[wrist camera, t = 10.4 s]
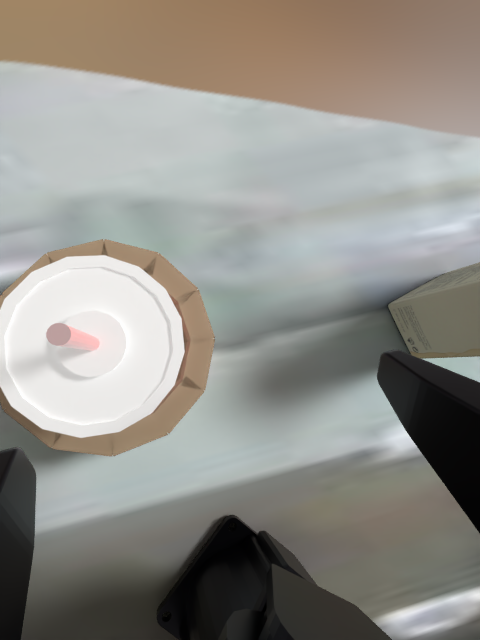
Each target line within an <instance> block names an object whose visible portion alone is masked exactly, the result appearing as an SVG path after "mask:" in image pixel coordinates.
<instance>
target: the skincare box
mask: <svg viewBox="0 0 480 640" xmlns="http://www.w3.org/2000/svg"><path fill="white" fill-rule="evenodd" d="M388 308H389V310H390V312H391V314H392V316H393V318H394V320H395V323H396V325H397V327H398V329H399V331H400V333H401V335H402V337H403V339H404V341H405V343H406V345H407V347H408V349H409V351H410V353H411V355H412V356H415V357H417V358H420V359H421V358H447V357H474V356H480V262H479V263H476V264H473V265H470V266H467V267H463V268H460V269H457V270H454V271H451V272H447V273H445V274H443V275H441V276H439V277H437V278H435V279H433V280H431V281H430V282H428V283H426V284H424V285H422V286H420V287H418V288H416V289H415V290H413V291H411V292H409V293H407V294H405V295H404V296H402V297H400V298H398V299H397V300H395V301H393V302H391V303H390V304H389V305H388Z"/></svg>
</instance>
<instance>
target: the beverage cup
mask: <svg viewBox="0 0 480 640" xmlns="http://www.w3.org/2000/svg"><path fill="white" fill-rule="evenodd" d="M184 353H185V350H184V340H183V329H182V319H181V317H180V315H179V313H178V311H177V309H176V307H175V306H174V304H173V302H172V300H171V298H170V296H169V294H168V292H167V291H166V289H165V288H164V287H163V286H162V285H160V284H159V283H158V282H157V281H156V280H154V279H153V278H152V277H151V276H150V275H148V274H147V273H146V272H145V271H144V270H142V269H141V268H140V267H138V266H135V265H132V264H129V263H126V262H123V261H120V260H117V259H114V258H111V257H108V256H105V255H98V256H73V257H65V258H63V259H61V260H58V261H56V262H54V263H51V264H49V265H47V266H44V267H42V268H40V269H37V270H35V271H33V272H31V273H30V274H29V275H28V276H27V277H26V278H25V279H24V280H23V281H22V282H21V283H20V284H19V285H18V286H17V287H16V288H15V289H14V290H13V291H12V292H11V293H10V294H9V295H8V296H7V297H6V298H5V299H4V301H3V304H2V306H1V309H0V387H1V389H2V391H3V393H4V394H5V396H6V398H7V400H8V402H9V403H10V405H11V407H13V408H14V409H16V410H17V411H18V412H20V413H21V414H22V415H24V416H25V417H27V418H28V419H29V420H31V421H32V422H33V423H35V424H36V425H37V426H39V427H40V428H42V429H44V430H48V431H53V432H57V433H61V434H66V435H70V436H74V437H79V438H84V437H90V436H97V435H103V434H110V433H116V432H120V431H122V430H124V429H125V428H127V427H129V426H131V425H132V424H134V423H136V422H137V421H139V420H141V419H143V418H144V417H146V416H148V415H150V414H151V413H153V411H154V410H155V409H156V408H157V406H158V405H159V404H160V403H161V401H162V400H163V399H164V398H165V396H166V395H167V394H168V393H169V391H170V390H171V389H172V388H173V386H174V385H175V382H176V379H177V376H178V372H179V369H180V366H181V362H182V359H183V356H184Z"/></svg>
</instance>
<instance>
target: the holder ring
mask: <svg viewBox="0 0 480 640" xmlns="http://www.w3.org/2000/svg"><path fill="white" fill-rule="evenodd" d="M47 255H48V256H47ZM47 255H46V254H44V255H43V256H42V257H41V258H40V259H39V260H38V261H37V262H36V263H35V264H33V265H32V266H31V267H30V268H29V269H28V270H27V271H26V272H25V273H24V274H23V275H21V276H20V277H19V278H18V279H17V280H16V281H15V282H14V283H13V284H12V285H10V286H9V287H8V288H7V289H6V290H5V291H4V292H3V293H2V294H3V295H4V296H3V295H1V296H0V309H1V306H2V304H3V301H4V299H5V298H6V297H7V296H8V295H9V294H10V293H11V292H12V291H13V290H14V289H15V288H16V287H17V286H18V285H19V284H20V283H21V282H22V281H23V280H24V279H25V278H26V277H27V276H28V275H29V274H30V273H31V272H33V271H35V270H37V269H40V268H42V267H44V266H47V265H49V264H51V263H54V262H56V261H58V260H61V259H63V258H65V257H73V256H98V255H105V256H108V257H111V258H114V259H117V260H120V261H123V262H126V263H129V264H132V265H135V266H138V267H140V268H141V269H142V270H144V271H145V272H146V273H147V274H148V275H150V276H151V277H152V278H153V279H154V280H156V281H157V282H158V283H159V284H160V285H162V286H163V287H164V288H165V289H166V291H167V292H168V294H169V296H170V298H171V300H172V302H173V304H174V306H175V307H176V309H177V311H178V313H179V315H180V317H181V319H182V329H183V340H184V350H185V353H184V356H183V359H182V362H181V366H180V369H179V372H178V376H177V379H176V382H175V385H174V386H173V388H172V389H171V390H170V391H169V393H168V394H167V395H166V396H165V398H164V399H163V400H162V401H161V403H160V404H159V405H158V406H157V408H156V409H155V410H154V411H153V413H151V414H150V415H148V416H146V417H144V418H143V419H141V420H139V421H137V422H136V423H134V424H132V425H131V426H129V427H127V428H125V429H124V430H122V431H120V432H116V433H110V434H103V435H97V436H90V437H84V438H79V437H74V436H70V435H66V434H61V433H57V432H53V431H48V430H44V429H42V428H40V427H39V426H37V425H36V424H35V423H33V422H32V421H31V420H29V419H28V418H27V417H25V416H24V415H22V414H21V413H20V412H18V411H17V410H16V409H14V408H13V407H11V405H10V403H9V402H8V400H7V398H6V396H5V394H4V393H3V391H2V389H1V387H0V403H1V406H2V409H5V410H4V412H5V413H7V414H8V415H9V416H11V417H12V418H13V419H14V420H16V421H17V422H18V423H19V424H21V425H22V426H23V427H24V428H26V429H27V430H28V431H29V432H31V433H32V434H33V435H35V436H36V437H37V438H38V439H40V440H41V441H42V442H43V443H45V444H46V445H47V446H48V447H50V448H51V447H52V446H53V448H52V449H57V450H65V451H73V452H81V453H88V454H96V455H104V456H112V455H113V456H115V455H118V454H120V453H123V452H125V451H128V450H130V449H133V448H136V447H138V446H141V445H143V444H146V443H148V442H151V441H153V440H156V439H158V438H161V437H163V436H166V435H168V434H167V432H168V433H170V432H171V431H172V430H173V428H174V427H175V426H176V425H177V424H178V422H179V421H180V420H181V419H182V418H183V416H184V415H185V414H186V413H187V412H188V411H189V409H190V408H191V407H192V406H193V405H194V403H195V402H196V401H197V400H198V399H199V397H200V396H201V395H202V394H203V393H204V391H203V390H205V388H206V383H207V378H208V373H209V367H210V362H211V357H212V352H213V347H214V342H215V339H213V338H215V337H214V334H213V331H212V328H211V325H210V322H209V319H208V316H207V313H206V310H205V307H204V304H203V301H202V298H201V295H200V292H199V290H197V289H198V288H197V287H196V286H195V285H194V284H193V283H191V282H190V281H189V280H188V279H187V278H186V277H185V276H184V275H183V274H182V273H180V272H179V271H178V270H177V269H176V268H175V267H174V266H173V265H172V264H171V263H169V262H168V261H167V260H166V259H165V258H164V257H163V256H162V255H161V254H160V253H159V254H158V252H154V251H150V250H146V249H142V248H138V247H134V246H130V245H126V244H122V243H118V242H114V241H110V240H106V239H105V240H104V241H103V239H102V240H98V241H93V242H89V243H85V244H81V245H77V246H73V247H69V248H65V249H60V250H56V251H52V252H48V253H47Z"/></svg>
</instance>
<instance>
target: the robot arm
mask: <svg viewBox="0 0 480 640" xmlns="http://www.w3.org/2000/svg"><path fill="white" fill-rule="evenodd" d="M377 379H378V383H379V385H380V387H381V388H382V390H383V392H384V394H385V395H386V397H387V399H388V401H389V402H390V404H391V406H392V408H393V409H394V411H395V413H396V414H397V416H398V418H399V420H400V421H401V423H402V425H403V426H404V428H405V430H406V431H407V433H408V434H409V436H410V437H411V439H412V440H413V441H414V443H415V444H416V446H417V447H418V448H419V450H420V451H421V453H422V454H423V455H424V457H425V458H426V459H427V461H428V462H429V464H430V465H431V466H432V468H433V469H434V471H435V472H436V473H437V475H438V476H439V477H440V479H441V480H442V482H443V483H444V484H445V486H446V487H447V489H448V490H449V491H450V493H451V494H452V495H453V497H454V498H455V500H456V501H457V502H458V504H459V505H460V507H461V508H462V509H463V511H464V512H465V513H466V515H467V516H468V518H469V519H470V520H471V522H472V523H473V525H474V526H475V527H476V529H477V530H478V531H479V533H480V382H477V381H475V380H472V379H470V378H467V377H465V376H462V375H460V374H457V373H455V372H452V371H450V370H447V369H445V368H442V367H440V366H437V365H435V364H432V363H430V362H427V361H425V360H422V359H420V358H417V357H415V356H412V355H410V354H407V353H405V352H402V351H400V350H391V351H387V352H384V353H382V355H381V357H380V362H379V368H378V373H377ZM35 504H36V473H35V470H34V468H33V466H32V464H31V463H30V461H29V459H28V458H27V456H26V455H25V453H24V451H23V450H22V449H21V448H19V447H15V448H11V449H7V450H3V451H0V640H21V633H22V627H23V620H24V613H25V606H26V599H27V593H28V586H29V579H30V572H31V565H32V558H33V550H34V536H35ZM231 522H234V523H235V526H234V527H233V528H231V529H230V528H228V526H229V524H230V523H231ZM167 611H168V612H170V615H169V616H167V617H164V616H163V613H165V612H167ZM157 621H158V623H159V625H160V626H162V627H163V628H164V629H166V630H167V631H168V632H170V633H171V634H172V635H174V636H175V637H176V638H178V639H179V640H392V639H391V638H390V637H389V636H388V635H387V634H386V633H384V632H383V631H382V630H381V629H380V628H379V627H378V626H377V625H376V624H375V623H374V622H373V621H372V620H371V619H370V618H369V617H368V616H366V615H365V614H364V613H363V612H362V611H361V610H360V609H359V608H358V607H357V606H355V605H354V604H352V603H350V602H348V601H346V600H344V599H342V598H340V597H338V596H336V595H334V594H332V593H330V592H328V591H326V590H324V589H322V588H321V587H319V586H317V584H316V583H315V582H314V580H313V579H312V578H311V576H310V575H309V574H308V573H307V571H306V570H305V569H304V567H303V566H302V565H301V563H300V562H299V561H298V559H297V558H296V557H295V555H294V554H292V553H291V552H290V551H289V550H288V549H286V548H285V547H284V546H283V545H282V544H280V543H279V542H278V541H277V540H276V539H274V538H273V537H272V536H271V535H270V534H268V533H267V532H266V531H259V533H258V534H257V533H256V532H255V531H254V530H252V529H251V528H250V527H249V526H248V525H246V524H245V523H244V522H243V521H241V520H240V519H239V518H238V517H237V516H235V515H229V516H227V517H226V518H225V519H224V520H223V522H222V523H221V524H220V526H219V527H218V528H217V530H216V531H215V532H214V534H213V535H212V536H211V538H210V539H209V540H208V542H207V543H206V544H205V546H204V547H203V548H202V550H201V551H200V552H199V554H198V555H197V556H196V558H195V559H194V560H193V562H192V563H191V565H190V566H189V567H188V569H187V570H186V571H185V573H184V574H183V575H182V577H181V578H180V579H179V581H178V582H177V583H176V585H175V586H174V587H173V589H172V590H171V591H170V593H169V594H168V595H167V597H166V598H165V599H164V601H163V602H162V603H161V605H160V606H159V608H158V610H157Z"/></svg>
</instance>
